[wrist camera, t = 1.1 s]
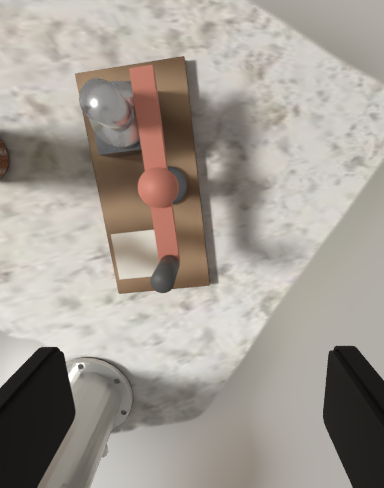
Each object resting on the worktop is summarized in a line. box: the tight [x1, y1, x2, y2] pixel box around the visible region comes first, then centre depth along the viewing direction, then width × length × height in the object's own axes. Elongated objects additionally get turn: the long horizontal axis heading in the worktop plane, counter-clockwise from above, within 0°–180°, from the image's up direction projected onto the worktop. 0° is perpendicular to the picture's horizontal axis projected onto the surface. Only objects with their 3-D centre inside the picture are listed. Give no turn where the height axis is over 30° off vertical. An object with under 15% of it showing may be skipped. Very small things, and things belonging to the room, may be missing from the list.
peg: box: [79, 78, 140, 147], centre depth 25 cm, size 6×6×10 cm
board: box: [75, 56, 210, 294], centre depth 32 cm, size 26×12×1 cm, turn 7°
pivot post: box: [168, 166, 187, 204], centre depth 29 cm, size 4×4×5 cm
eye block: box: [94, 81, 142, 158], centre depth 28 cm, size 6×6×4 cm
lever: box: [129, 65, 180, 293], centre depth 23 cm, size 18×4×6 cm, turn 7°
